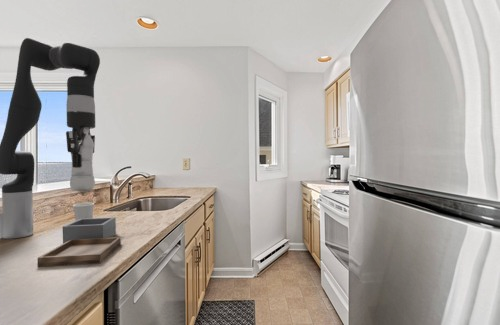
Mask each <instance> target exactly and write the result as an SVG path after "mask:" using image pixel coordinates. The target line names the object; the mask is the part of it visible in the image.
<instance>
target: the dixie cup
mask: <svg viewBox="0 0 500 325" xmlns="http://www.w3.org/2000/svg"><path fill="white" fill-rule="evenodd" d="M72 207H73V212H74V219H75V221H76V220H79V219H90V218H93V215H94V207H95V203H94V202H81V203H80V202H79V203H74V204H72Z"/></svg>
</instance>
